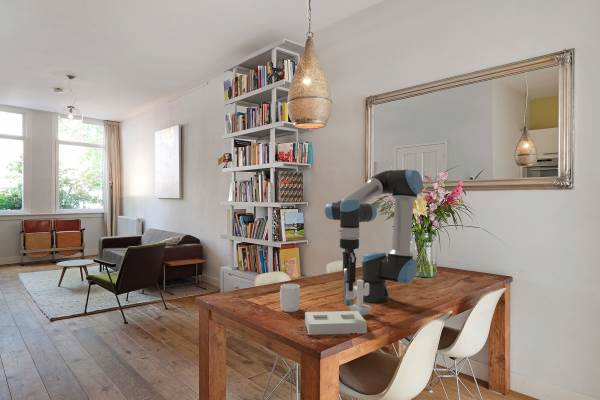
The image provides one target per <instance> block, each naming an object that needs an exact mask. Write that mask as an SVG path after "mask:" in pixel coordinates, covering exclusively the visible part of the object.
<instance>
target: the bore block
mask: <svg viewBox="0 0 600 400" xmlns="http://www.w3.org/2000/svg"><path fill="white" fill-rule="evenodd" d="M304 323H305V326H306V329H307V332H308V335H309V336H313V335H314V336H315V335H350V333H353V334H354V333H357V334H367V333H368V323H367V321H366V319H364V317H363V316H361V315H360V313H359V312H358V311H351V310H343V311H341V310H340V311H339V310H338V311H337V310H335V311H305V312H304Z"/></svg>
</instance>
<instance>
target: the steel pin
mask: <svg viewBox="0 0 600 400" xmlns="http://www.w3.org/2000/svg"><path fill="white" fill-rule="evenodd" d="M345 281H347V268H344V276H343V292H342V293H343V295H342V297H343V301H342V304H343V306H347V307H349V306H351V305H353V304H354V299H355V298H354V299H346V284H347V283H346V282H345Z"/></svg>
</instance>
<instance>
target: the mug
mask: <svg viewBox="0 0 600 400" xmlns="http://www.w3.org/2000/svg"><path fill="white" fill-rule="evenodd" d="M300 288H301V286H300V285H299V284H296V283H283V284H281V285H280V290H279V299H280V310H281V311H282V312H286V313H294V312H297V311H299V310H300V293H301V292H300Z"/></svg>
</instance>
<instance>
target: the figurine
mask: <svg viewBox="0 0 600 400" xmlns="http://www.w3.org/2000/svg"><path fill="white" fill-rule="evenodd" d="M363 284H364V281H363V280H362V279H357V280H356V285H354V299H355V298H356V303H355V302H354V303H353V305H351V306H348V308H349V309H350V310H349V311H358V312H359V313H360V315H361V316H362V317H363V316H366V315H368V314H369V311H370V310H371V309H372V305H368V304H367V303H364V301H363V295H364V296H368V295H369V283H365V288H363Z"/></svg>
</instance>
